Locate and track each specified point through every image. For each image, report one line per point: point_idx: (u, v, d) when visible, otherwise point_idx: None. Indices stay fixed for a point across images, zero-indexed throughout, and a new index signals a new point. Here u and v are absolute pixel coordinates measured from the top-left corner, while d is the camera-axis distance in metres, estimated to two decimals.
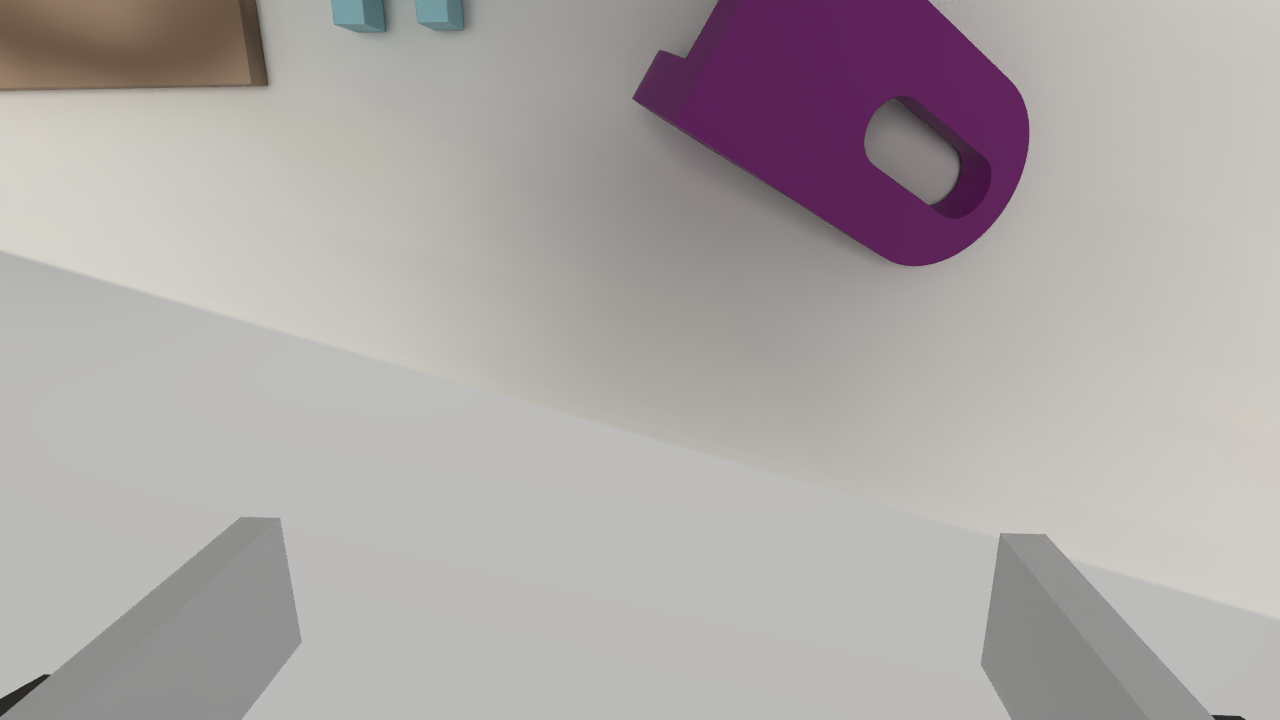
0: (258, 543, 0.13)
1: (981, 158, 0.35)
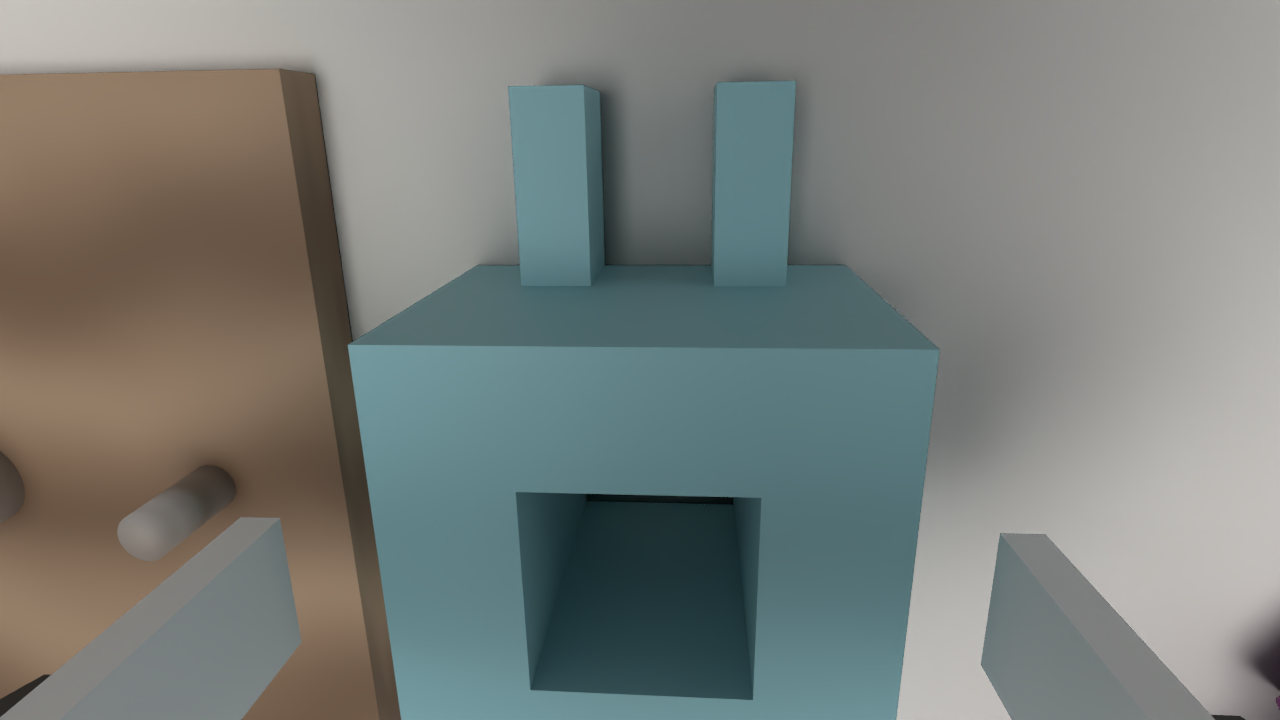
0: (258, 543, 0.13)
1: None
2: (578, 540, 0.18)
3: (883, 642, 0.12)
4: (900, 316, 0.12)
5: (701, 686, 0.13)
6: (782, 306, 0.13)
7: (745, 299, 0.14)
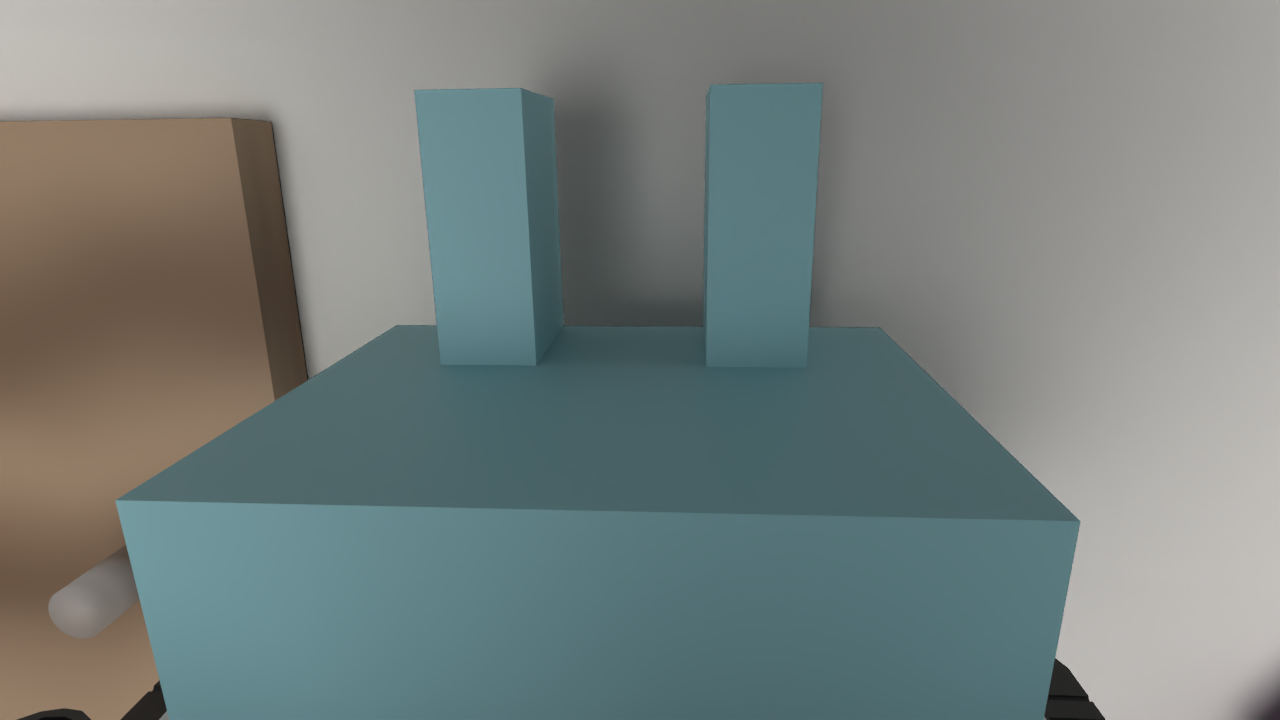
0: None
1: None
2: None
3: None
4: (987, 434, 0.08)
5: None
6: (806, 409, 0.09)
7: (751, 394, 0.10)
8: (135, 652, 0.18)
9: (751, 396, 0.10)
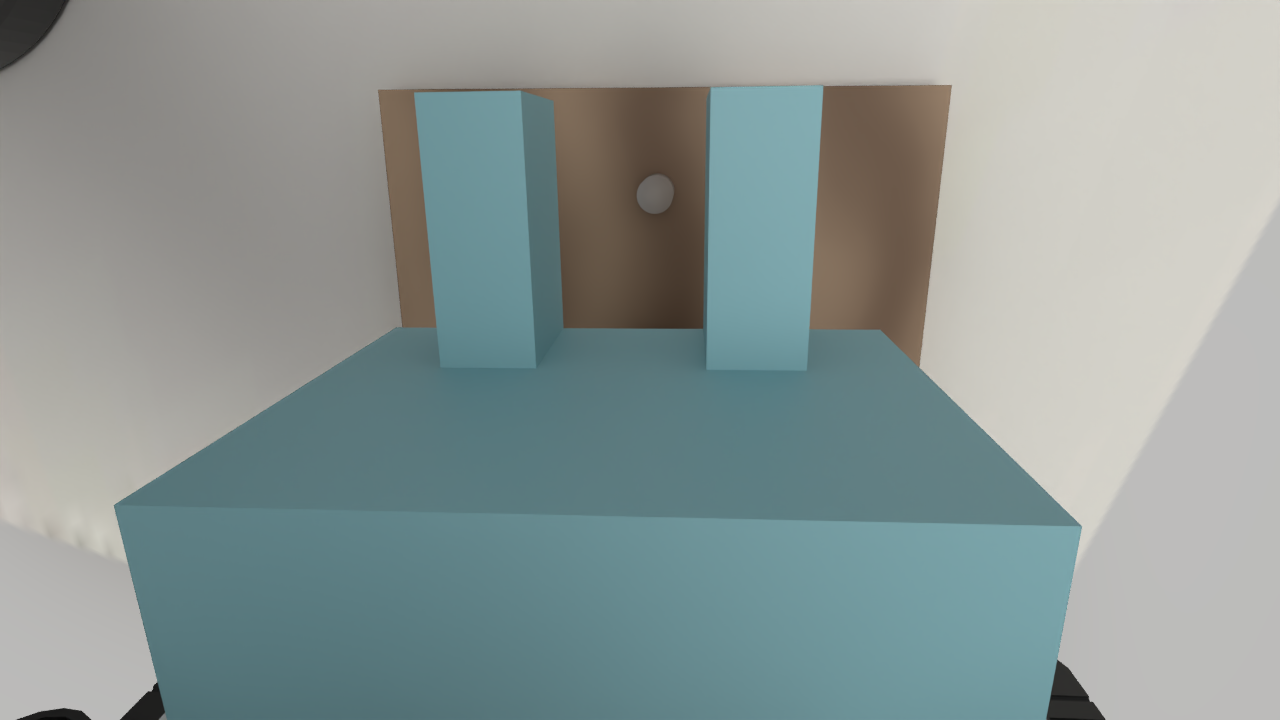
0: None
1: None
2: None
3: None
4: (988, 438, 0.08)
5: None
6: (806, 413, 0.09)
7: (752, 397, 0.10)
8: None
9: (751, 399, 0.10)
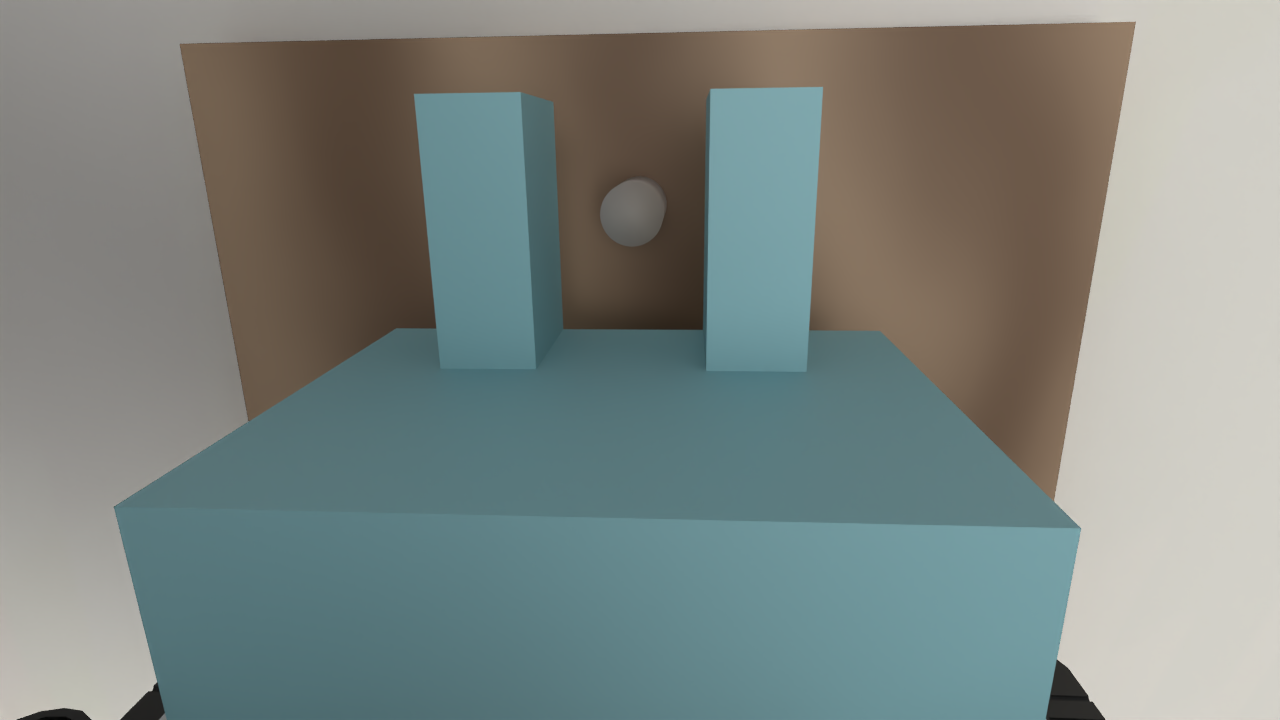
0: None
1: None
2: None
3: None
4: (987, 440, 0.08)
5: None
6: (806, 414, 0.09)
7: (751, 399, 0.10)
8: None
9: (751, 401, 0.10)
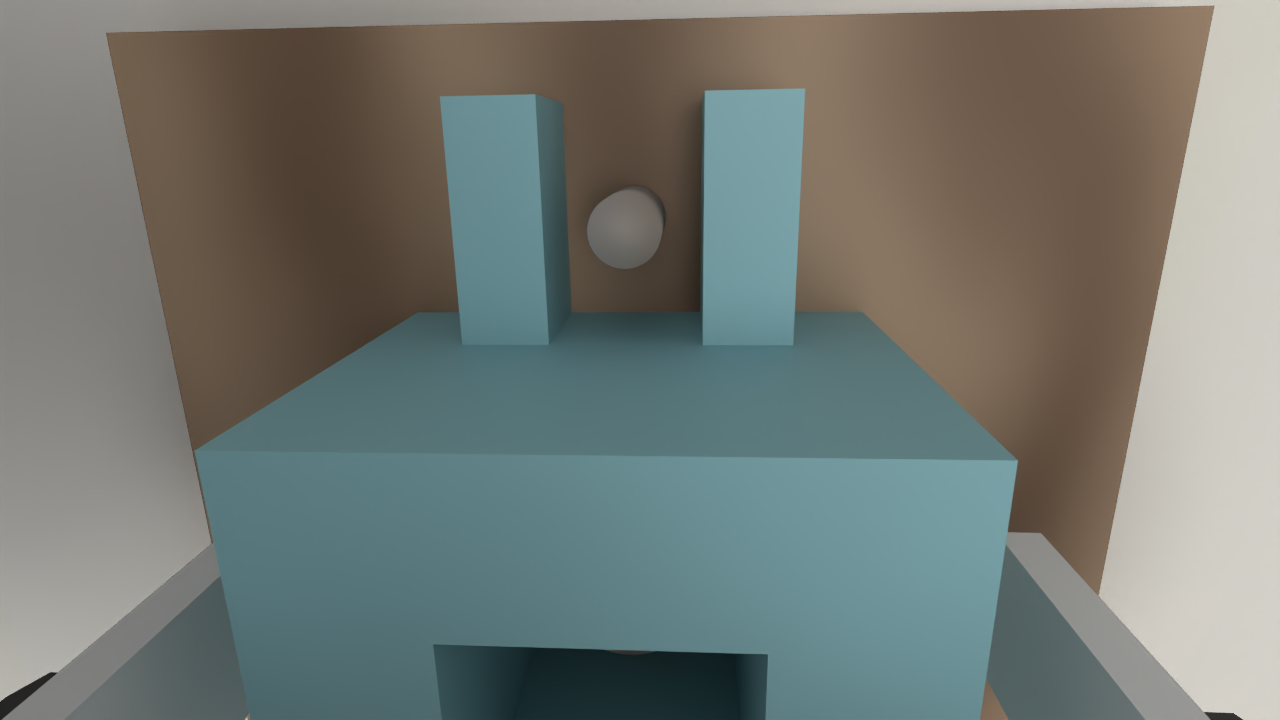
0: None
1: None
2: None
3: None
4: (948, 396, 0.09)
5: None
6: (790, 379, 0.10)
7: (743, 367, 0.11)
8: None
9: (742, 368, 0.11)
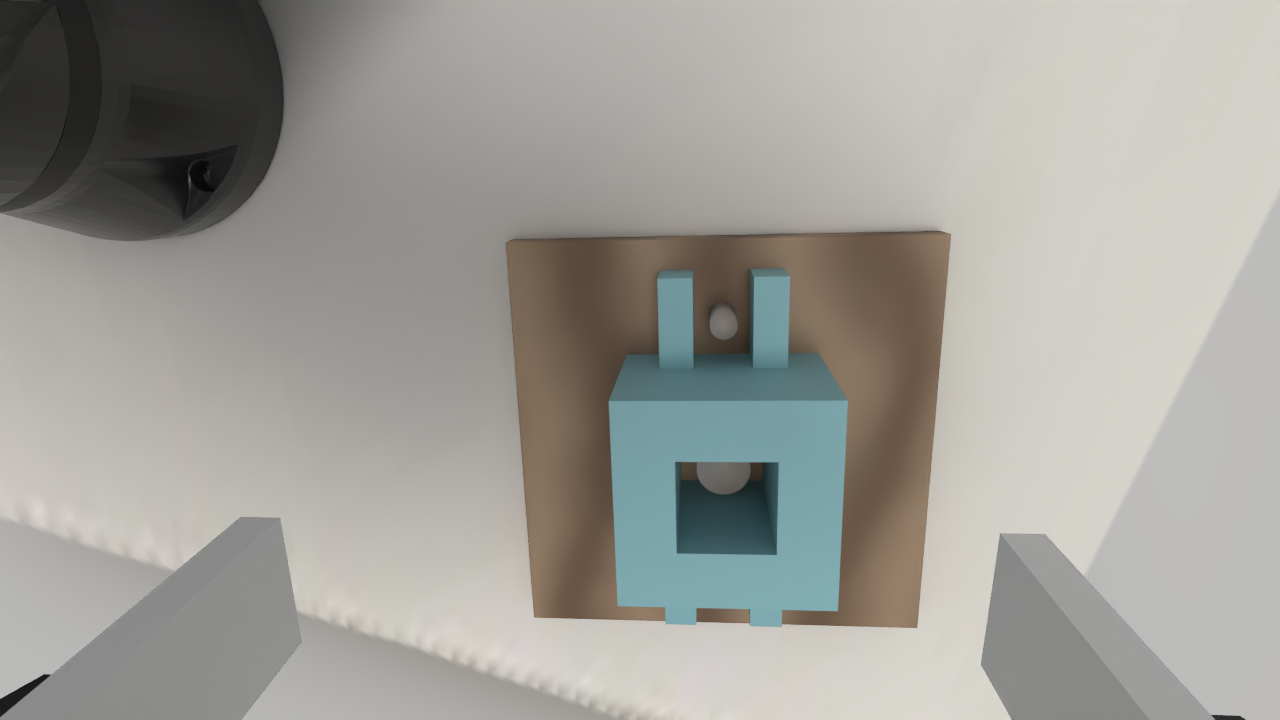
0: (258, 543, 0.13)
1: None
2: (682, 498, 0.34)
3: (832, 526, 0.28)
4: (837, 384, 0.29)
5: (753, 551, 0.29)
6: (785, 379, 0.30)
7: (769, 375, 0.30)
8: None
9: (769, 376, 0.30)
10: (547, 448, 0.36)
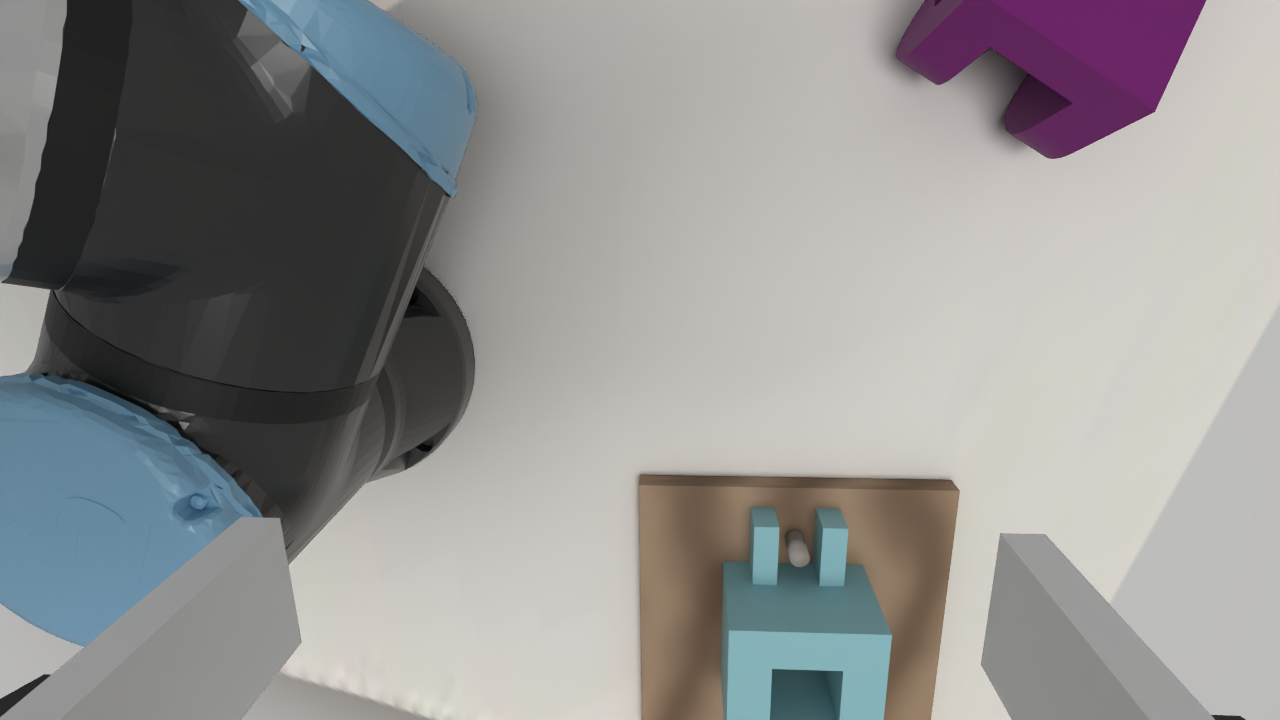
0: (258, 543, 0.13)
1: None
2: None
3: (878, 711, 0.41)
4: (882, 612, 0.42)
5: None
6: (845, 604, 0.43)
7: (832, 598, 0.43)
8: None
9: (832, 599, 0.43)
10: (660, 622, 0.49)
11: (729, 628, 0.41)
